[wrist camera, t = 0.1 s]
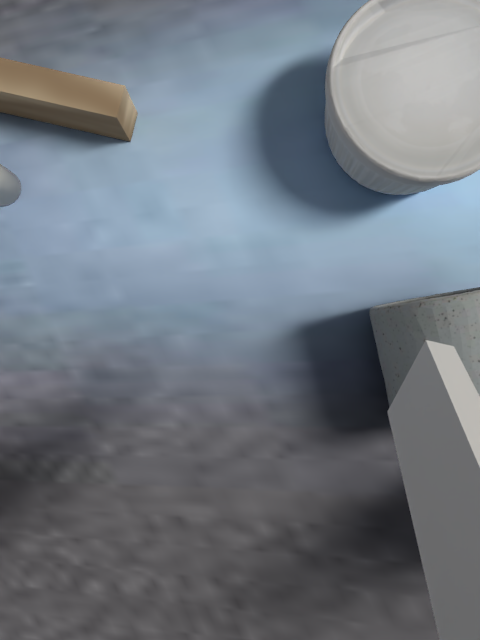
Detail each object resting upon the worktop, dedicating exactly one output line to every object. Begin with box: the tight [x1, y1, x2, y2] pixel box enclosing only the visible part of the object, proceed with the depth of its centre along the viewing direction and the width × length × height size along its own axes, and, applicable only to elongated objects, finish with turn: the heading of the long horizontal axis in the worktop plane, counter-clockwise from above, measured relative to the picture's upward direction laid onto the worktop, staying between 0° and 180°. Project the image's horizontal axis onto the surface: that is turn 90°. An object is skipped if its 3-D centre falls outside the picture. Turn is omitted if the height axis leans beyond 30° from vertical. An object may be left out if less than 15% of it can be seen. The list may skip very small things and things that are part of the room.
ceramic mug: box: [369, 287, 480, 406], centre depth 23 cm, size 11×8×8 cm
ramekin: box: [325, 0, 480, 195], centre depth 25 cm, size 11×11×5 cm
